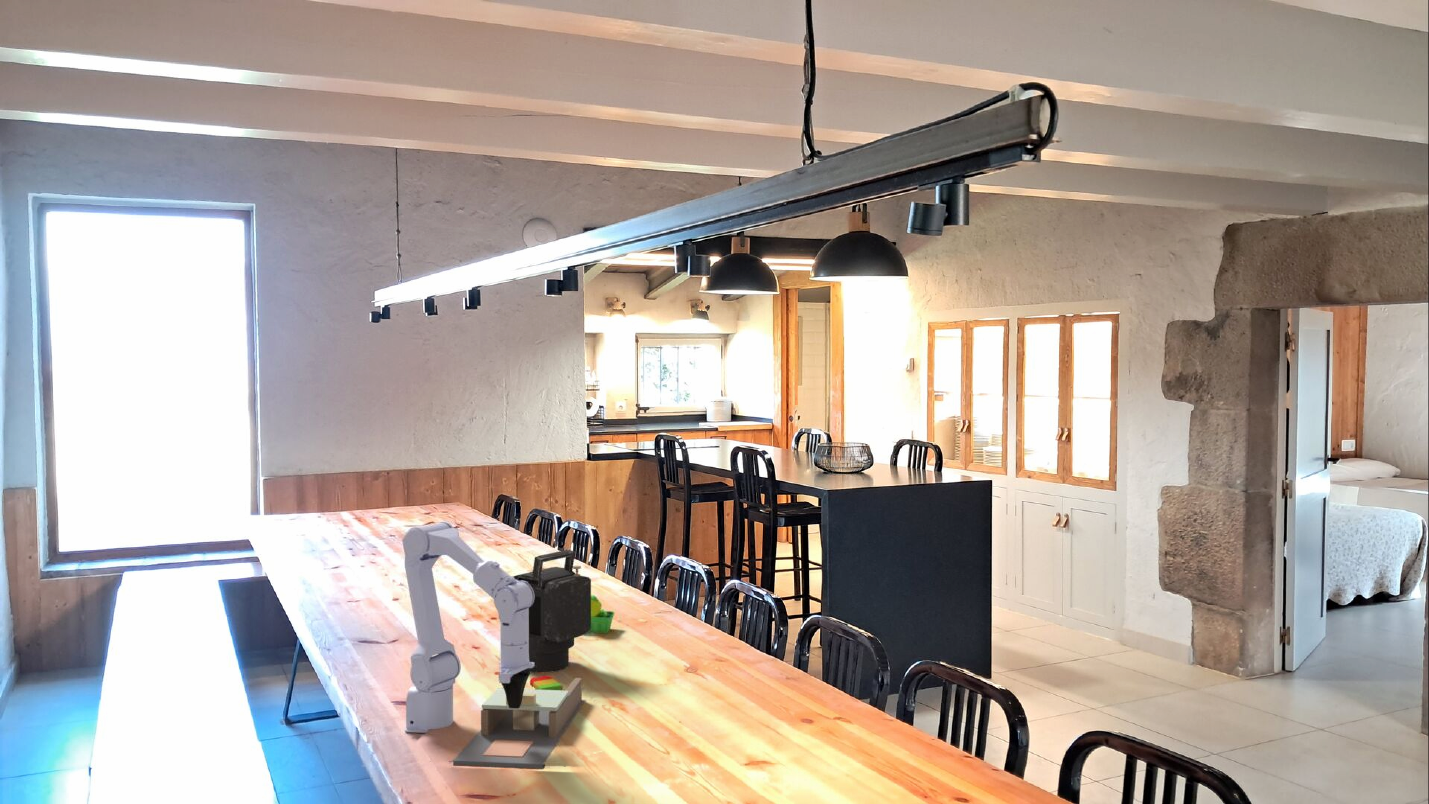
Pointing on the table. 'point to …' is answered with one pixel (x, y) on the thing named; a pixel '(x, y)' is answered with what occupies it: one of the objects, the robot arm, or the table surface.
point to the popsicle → (545, 683)
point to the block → (525, 719)
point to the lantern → (556, 611)
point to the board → (520, 736)
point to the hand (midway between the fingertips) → (514, 707)
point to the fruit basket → (599, 617)
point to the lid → (528, 700)
